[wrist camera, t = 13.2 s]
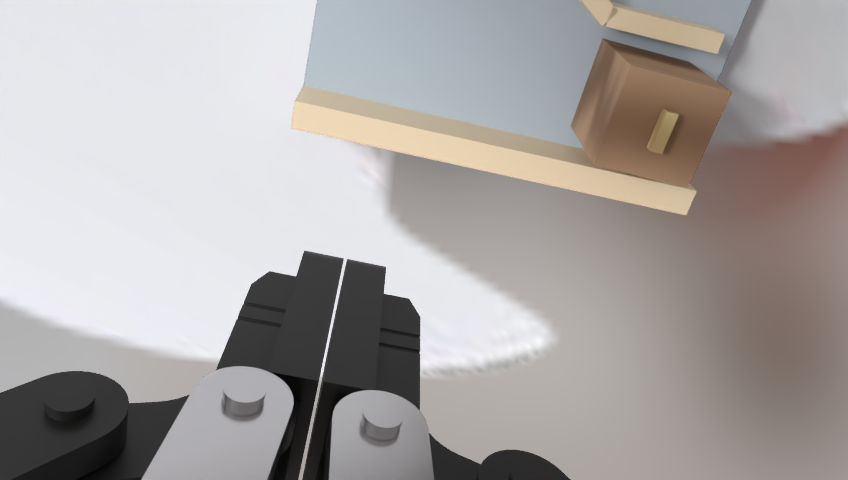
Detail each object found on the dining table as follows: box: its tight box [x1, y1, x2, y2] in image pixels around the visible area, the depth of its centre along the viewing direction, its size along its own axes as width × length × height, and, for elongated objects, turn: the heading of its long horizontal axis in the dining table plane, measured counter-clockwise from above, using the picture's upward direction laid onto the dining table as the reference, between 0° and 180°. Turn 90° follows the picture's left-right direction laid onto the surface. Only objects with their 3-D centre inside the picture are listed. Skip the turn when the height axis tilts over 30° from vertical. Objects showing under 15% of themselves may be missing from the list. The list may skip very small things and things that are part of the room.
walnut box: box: [571, 38, 732, 188], centre depth 37 cm, size 5×5×7 cm
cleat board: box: [291, 0, 751, 215], centre depth 38 cm, size 12×22×4 cm, turn 77°
